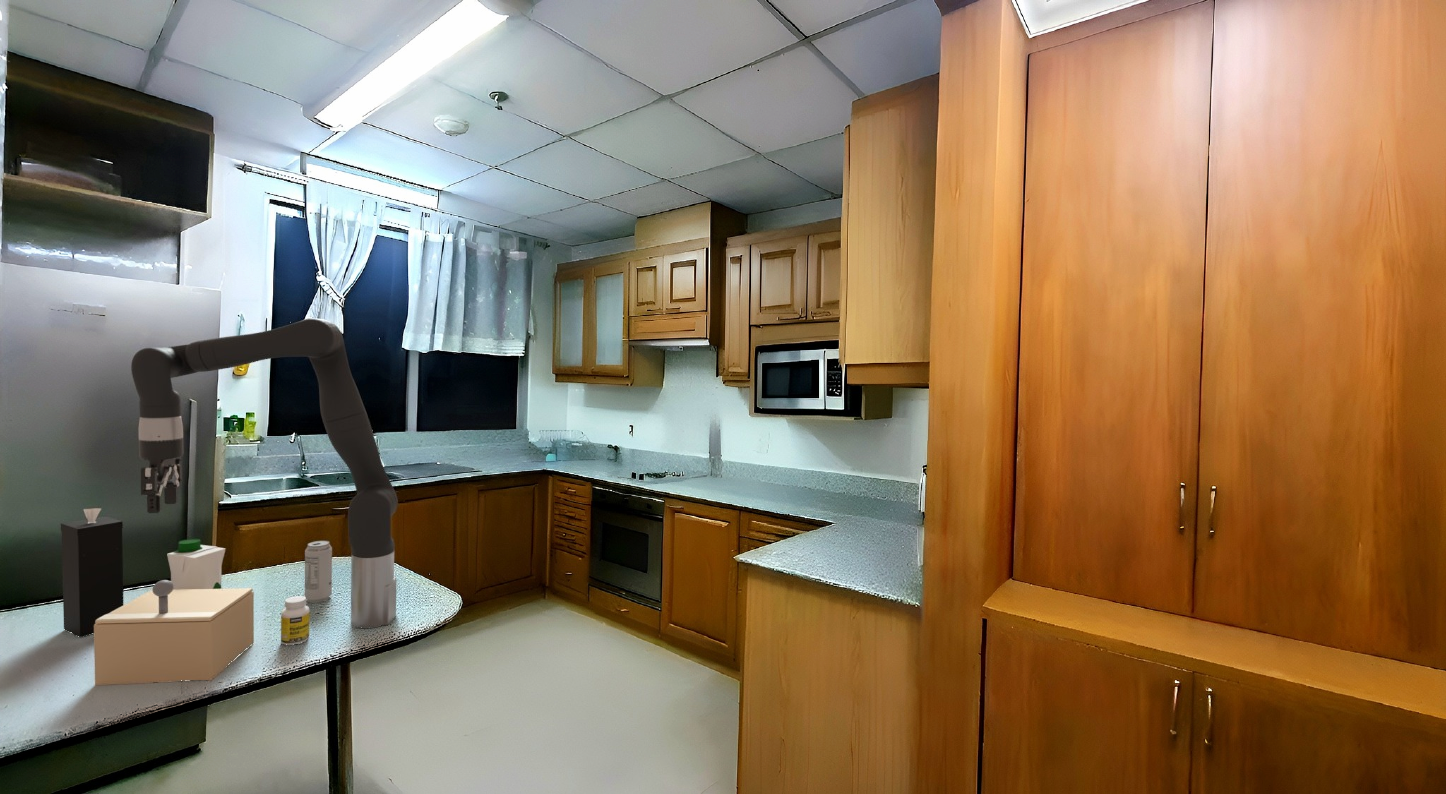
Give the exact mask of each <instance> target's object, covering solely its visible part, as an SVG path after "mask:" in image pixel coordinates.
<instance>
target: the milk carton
mask: <svg viewBox="0 0 1446 794" xmlns="http://www.w3.org/2000/svg"><path fill="white" fill-rule="evenodd" d="M177 545H178V546H177V550H175V551H172V552H169V553H167V560H168V565H169V569H170V581H171V582H172V583H173V585H174V588H173V590H180V589H222V565H223V560H224V557H225V552H226V550H227V548H224V547H218V546H215V545H205V544H201V539H199V538H187V539H183V540H179V541H178V543H177Z"/></svg>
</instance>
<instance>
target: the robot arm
mask: <svg viewBox="0 0 1446 794" xmlns="http://www.w3.org/2000/svg"><path fill="white" fill-rule="evenodd" d="M347 355H348V354H347V352H346V346H345V340H344V338H343V334H342V331H341V330H340V328H339V327H338V326H337V325H336V324H335V323H334V322H332V321H330V320H327V319H323V318H317V317H310V318H309V317H308V318H305V319H303V320H300V321H297V322H294V323H291V324H288V325H287V324H286V325H283V326H280V327H277V328H273V329H270V330H265V331H259V332H254V333H246V334H239V335H228V336H223V337H222V336H221V337H216V338H209V339H204V340H201V339H200V340H196V341H193V342H191V343H189V344H182V345H173V346H165V347H164V346H163V347H161V346H160V347H145V348H142V349H140V350H138V351H137V352H136V353H135V354H134V355H133V357H132V360H131V363H130V364H131V365H130V369H131V370H130V371H131V375H132V379H133V383H134V386H135V390H136V392H137V394H138V397H139V403H138V405H139V406H138V407H139V409H138V410H139V423H138V452H139V455H138V456H139V458H140V459H141V460H144V461H148V462H149V463H148V466H147V467H141V469H140V495H141V496H145V497H146V502H147V503H146V504H147V505H146V506H147V509H146V511H147V513H148V514H159V513H161V512H162V495H161V494H162V491H163V490H164V491H163V493H164V504H165V505H175V504H177V503H178V501H179V499H178V488H179V486H180V483H182V482H183V468H182V467H183V466H182V465H183V464H182V457H183V456H184V425H183V424H184V423H183V421H182V400H181V395H180V393H179V392H177V391H176V390H174V389H173V383H172V378H178V377H183V376H188V375H193V374H195V373H196V374H197V373H202V372H203V373H206V372H212V371H218V370H219V371H220V370H225V369H229V368H235V367H240V366H245V365H248V364H252V363H256V362H259V361H265V360H268V359H270V360H271V359H276V358H291V357H292V358H293V357H295V358H298V357H306V358H308V359H309V360H310V362H311V363H310V364H311V365H312V368H313V370H314V372H315V376H316V379H317V383H318V391H319V392H318V393H319V394H318V395H319V407H320V408H319V409H320V416H321V419H322V423H323V425H324V428H325V431H326V434H327V437H328V440H329V442H330V444H331V446H332V447H333V448H334V450H335V452H336V453H337V454H338V456H340V458H341V460H343V462H344V464H345V465H346V466H347V468H348V470H349V471H350V473H351V476H352V479H353V482H354V486H355V490H356V495H355V496H354V497H353V498H352V499H351V501H350V503H349V505H348V511H347V512H348V513H347V514H348V515H347V527H348V528H347V529H348V531H347V532H348V542H349V543H348V544H349V547H350V549H351V563H350V566H351V567H350V568H351V571H350V575H351V576H350V625H351V626H352V625H353V626H352V627H354V626H355V627H354V628H357V627H360V628H359V629H370V628H369V627H373V628H376V627H378V628H379V627H381V625H382V626H388V625H389V624H390V623H391V622H392V621H393V619H394V618H395V617H396V616H397V578H395V540H394V539H393V537H392V528H391V527H392V525H391V524H392V516H393V515H394V514H395V512H396V511H397V509H398V504H399V502H398V496H397V493H396V491H395V489H394V487H393V484H392V482H391V480H390V478H389V475H388V474H387V472H386V470H385V467H384V465H383V462H382V460H381V456H380V453H379V449H378V445H377V442H376V439H375V436H374V433H373V429H372V426H371V421H370V419H369V417H368V413H367V411H366V408H365V405H364V403H363V400H362V398H361V395H360V392H359V390H358V387H357V385H356V383H355V380H354V377H353V375H352V371H351V369H350V365H349V360H348V356H347ZM361 627H362V628H361Z"/></svg>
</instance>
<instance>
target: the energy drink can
mask: <svg viewBox="0 0 1446 794" xmlns="http://www.w3.org/2000/svg"><path fill="white" fill-rule="evenodd" d="M332 564H333V547H332V546H331V544H330V541H329V540H314V541H312V542H309V543H307V547H306V548H305V550H304V597H306V602H308V603H310V604H312V603H315V604H317V603H322V602H325V601H327V600H329V599H330V597H331V596H332V594H333V593H332V592H333V591H332V588H333V585H332V583H333V582H332V581H333V577H332V576H333V565H332Z"/></svg>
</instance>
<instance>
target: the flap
mask: <svg viewBox="0 0 1446 794" xmlns="http://www.w3.org/2000/svg"><path fill="white" fill-rule="evenodd" d="M173 588H174V585H173V583H172V582H171V580H168V579H161V580H159V581H157V582H156V583H154V585H152V589H150V590H149V591H147V592H145V593H143V594H142V595H140V596H138V597H136V598H134V599H132V600H130V601H128V602H127V603H125V604H123V606H121V607H119V608H118V609H116V610H114V611H112V612H110V613H108V614H105V615H104V616H102V617H100V618H98V619H97V620H96V621H95V624H100V623H141V622H181V621H211V620H212V619H213V618H215V617H216V616H218V615H219V614H221V613H222V612H223V611H225V610H226V609H228V608H229V607H230V606H232V605H233V604H235V603H236V602H238V601H239V600H240V599H242V598H243V597H245V596H246V595H248V594H249V593H250V592H254V591H253V587H249V588H248V587H247V588H246V587H244V588H241V587H240V588H221V589H180V590H173Z"/></svg>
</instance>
